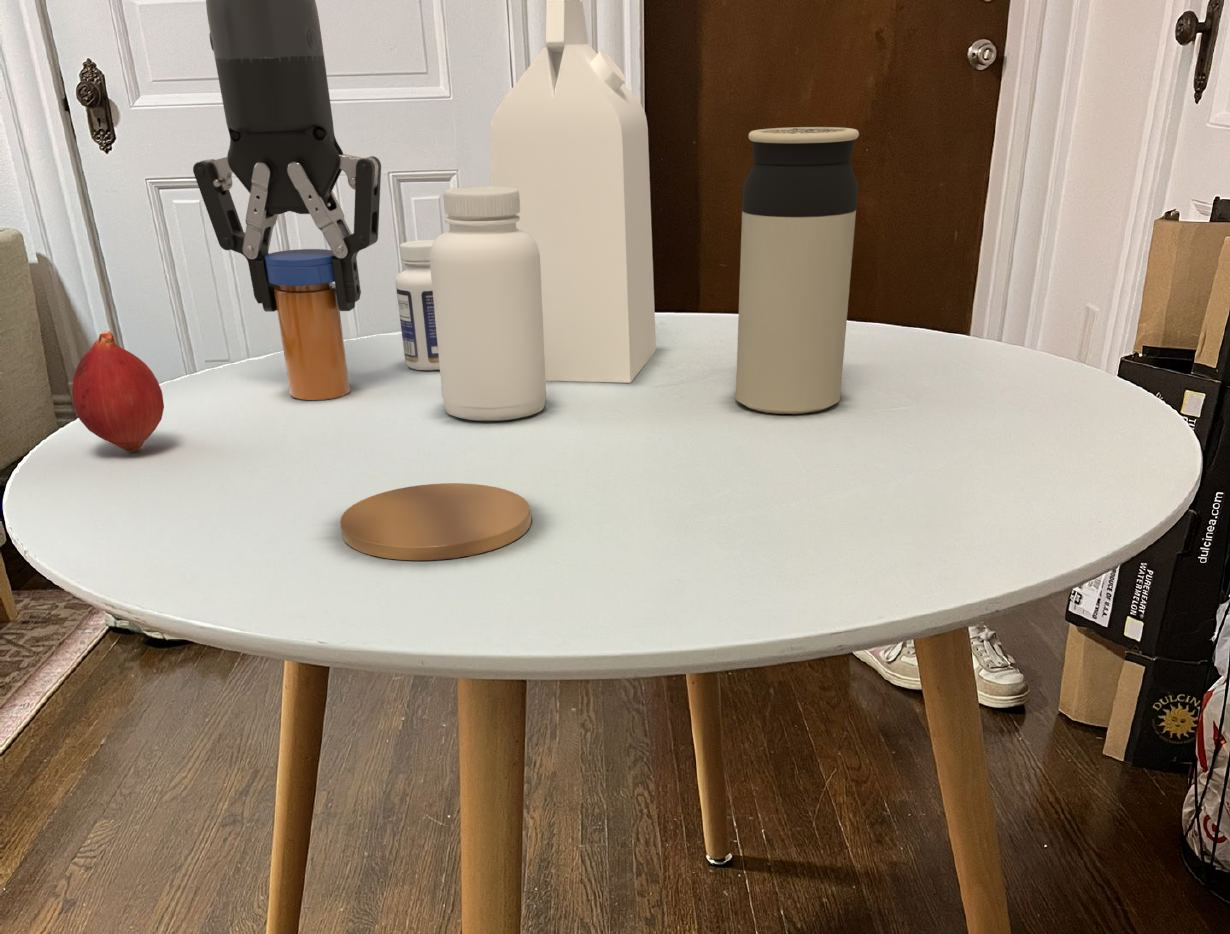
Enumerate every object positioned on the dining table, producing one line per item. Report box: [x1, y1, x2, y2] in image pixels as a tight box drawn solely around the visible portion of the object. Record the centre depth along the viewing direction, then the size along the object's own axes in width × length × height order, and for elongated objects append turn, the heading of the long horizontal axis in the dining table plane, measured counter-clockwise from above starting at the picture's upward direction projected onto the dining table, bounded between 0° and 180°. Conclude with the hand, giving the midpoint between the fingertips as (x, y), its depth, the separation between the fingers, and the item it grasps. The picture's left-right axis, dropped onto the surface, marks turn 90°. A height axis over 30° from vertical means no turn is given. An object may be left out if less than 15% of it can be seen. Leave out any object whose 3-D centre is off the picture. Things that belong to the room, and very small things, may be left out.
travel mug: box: [735, 126, 860, 415], centre depth 84 cm, size 8×8×18 cm
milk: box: [488, 0, 657, 384], centre depth 94 cm, size 12×12×26 cm
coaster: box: [339, 482, 532, 561], centre depth 67 cm, size 11×11×1 cm
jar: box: [274, 282, 351, 401], centre depth 92 cm, size 5×5×9 cm
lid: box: [265, 248, 335, 286], centre depth 89 cm, size 6×6×2 cm
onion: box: [71, 330, 165, 453], centre depth 79 cm, size 6×6×8 cm
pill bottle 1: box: [395, 239, 440, 371], centre depth 99 cm, size 5×5×10 cm
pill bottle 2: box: [430, 185, 547, 422], centre depth 85 cm, size 8×8×15 cm
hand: (309, 308), depth 91 cm, fingers closed on lid, 5 cm apart
